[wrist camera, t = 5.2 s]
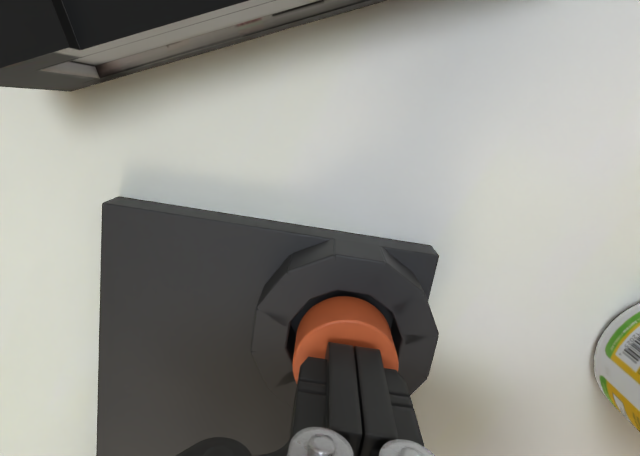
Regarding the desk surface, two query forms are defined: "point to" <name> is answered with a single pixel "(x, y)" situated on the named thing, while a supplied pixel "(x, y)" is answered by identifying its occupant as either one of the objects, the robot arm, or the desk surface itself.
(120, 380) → the scale
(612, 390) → the supplement bottle
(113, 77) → the book
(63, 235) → the desk surface
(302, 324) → the button
